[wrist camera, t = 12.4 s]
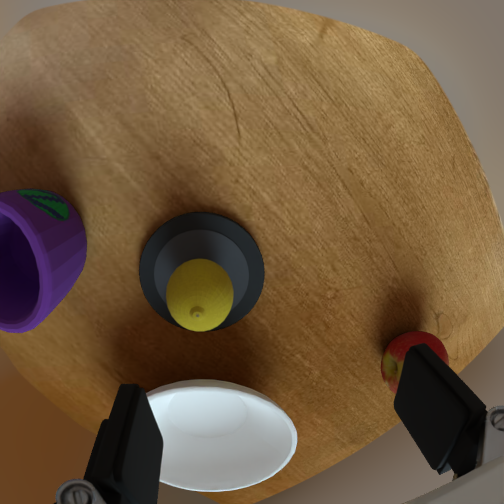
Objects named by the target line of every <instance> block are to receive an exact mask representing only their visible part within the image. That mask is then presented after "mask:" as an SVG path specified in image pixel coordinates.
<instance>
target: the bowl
mask: <svg viewBox="0 0 504 504" xmlns="http://www.w3.org/2000/svg"><path fill="white" fill-rule="evenodd" d="M146 395H147V398H148V401H149V404H150V406H151V409H152V412H153V414H154V417H155V419H156V422H157V424H158V427H159V429H160V432H161V434H162V437H163V443H164V445H163V454H162V462H161V471H160V480H159V481H161V482H163V483H166V484H169V485H172V486H175V487H179V488H183V489H187V490H195V491H208V492H218V491H229V490H235V489H240V488H244V487H248V486H251V485H254V484H257V483H259V482H261V481H263V480H265V479H267V478H269V477H271V476H273V475H274V474H275V473H277V472H278V471H280V470H281V469H282V468H283V467H284V466H285V465H286V464H287V463H288V462H289V461H290V459H291V457H292V455H293V454H294V452H295V449H296V445H297V431H296V429H295V427H294V425H293V422H292V420H291V419H290V417H289V416H288V415H287V414H286V413H285V412H284V410H283V409H282V408H281V407H280V406H279V405H278V404H276V403H275V402H274V401H272V400H271V399H270V398H268V397H267V396H266V395H264V394H262V393H259V392H257V391H255V390H253V389H251V388H248V387H245V386H242V385H238V384H235V383H232V382H226V381H220V380H213V379H194V380H185V381H179V382H175V383H171V384H168V385H164V386H160V387H158V388H156V389H154V390H151V391H149V392H147V393H146Z"/></svg>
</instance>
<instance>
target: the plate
mask: <svg viewBox="0 0 504 504" xmlns="http://www.w3.org/2000/svg"><path fill="white" fill-rule="evenodd" d="M193 259H207V260H210V261H213V262H215V263H217V264H218V265H220V266H221V267H222V268H223V269H224V270H225V271H226V272H227V274H228V276H229V278H230V280H231V282H232V286H233V291H234V293H233V303H232V306H231V309H230V312H229V314H228V315H227V317H226V318H225V320H224V321H223V322H222V323H221V324H219V325H218V326H217V327H215V328H213V329H211V330H207V331H215V330H219V329H223V328H225V327H228V326H230V325H232V324H234V323H236V322H237V321H239V320H240V319H242V318H243V317H244V316H245V315H246V314H248V312H249V311H250V310H251V309H252V308H253V307H254V305H255V304H256V302H257V300H258V298H259V296H260V294H261V291H262V288H263V283H264V263H263V259H262V255H261V253H260V250H259V248H258V246H257V244H256V243H255V241H254V239H253V238H252V237H251V235H250V234H249V233H248V232H247V231H246V230H245V229H244V228H243V227H242V226H240V225H239V224H238V223H237V222H235V221H233V220H231V219H230V218H227V217H225V216H222V215H219V214H215V213H209V212H192V213H186V214H183V215H179V216H177V217H175V218H172V219H171V220H169V221H167V222H166V223H164V224H163V225H162V226H161V227H159V228H158V229H157V230H156V231H155V232H154V234H153V235H152V236H151V237H150V239H149V240H148V242H147V244H146V245H145V247H144V250H143V252H142V255H141V260H140V267H139V275H140V282H141V287H142V290H143V292H144V295H145V297H146V299H147V300H148V302H149V304H150V305H151V306H152V308H153V309H154V310H155V311H156V312H157V313H158V314H159V315H160V316H161V317H162V318H164V319H165V320H167V321H168V322H170V323H172V324H173V325H175V326H178V327H180V328H183V329H187V328H184V327H183V326H181V325H180V324H179V323H177V322H176V320H175V319H174V318H173V317H172V315H171V313H170V311H169V309H168V306H167V300H166V290H167V284H168V282H169V279H170V277H171V275H172V274H173V272H174V271H175V270H176V269H177V268H178V267H179V266H180V265H182V264H183V263H185V262H187V261H189V260H193ZM187 330H189V329H187ZM191 331H193V330H191Z"/></svg>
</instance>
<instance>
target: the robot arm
mask: <svg viewBox="0 0 504 504" xmlns="http://www.w3.org/2000/svg"><path fill="white" fill-rule="evenodd" d="M394 409H395V411H396V413H397V414H398V416H399V417H400V419H401V420H402V422H403V424H404V425H405V427H406V428H407V430H408V431H409V433H410V434H411V436H412V438H413V439H414V441H415V442H416V444H417V446H418V447H419V449H420V450H421V452H422V454H423V455H424V457H425V458H426V460H427V462H428V463H429V465H430V466H431V468H432V469H434V470H437V472H438V473H439V475H441V474H443V473H445V472H447V471H449V470H451V468H452V470H453V471H454V476H453V480H452V482H450V483H448V484H446V485H443V486H441V487H439V488H437V489H435V490H433V491H431V492H429V493H427V494H424V495H422V496H420V497H417V498H415V499H413V500H410V501H408V502H405V503H403V504H504V406H496V407H493V408H491V409H490V410H489V411H488V412H487V411H486V405H485V404H484V403H483V402H482V401H481V400H480V399H479V398H478V397H477V396H476V395H475V394H474V392H473V391H472V390H471V389H470V388H469V387H468V386H467V385H466V384H465V383H464V382H463V381H462V380H461V379H460V378H459V377H458V376H457V374H456V373H455V372H454V371H453V370H452V369H451V368H450V367H449V366H448V365H447V364H446V363H445V362H444V361H443V360H442V359H441V358H440V357H439V356H438V355H437V354H436V353H435V352H434V351H433V350H432V349H431V348H430V347H429V346H428V345H427V344H426V343H421V344H417V345H414V346H411V347H410V348H409V351H407V352H406V354H405V359H404V363H403V368H402V372H401V376H400V380H399V384H398V388H397V392H396V396H395V399H394ZM163 445H164V443H163V437H162V434H161V432H160V429H159V427H158V424H157V422H156V419H155V417H154V414H153V412H152V409H151V406H150V404H149V401H148V398H147V395H146V392H145V390H144V388H139V385H138V384H121V385H120V387H119V390H118V393H117V396H116V399H115V401H114V404H113V407H112V410H111V413H110V416H109V419H104V420H103V421H102V423H101V426H100V428H99V431H98V434H97V437H96V441H95V443H94V447H93V450H92V453H91V456H90V459H89V462H88V466H87V469H86V472H85V475H84V479H83V480H82V479H72V480H68V481H66V482H65V483H63V484H62V485H61V486H60V487H59V488H58V490H57V493H56V503H54V504H157V499H158V489H159V480H160V471H161V462H162V454H163Z"/></svg>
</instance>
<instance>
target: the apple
mask: <svg viewBox="0 0 504 504" xmlns="http://www.w3.org/2000/svg"><path fill="white" fill-rule="evenodd" d="M421 343H426V344H427V345H428V346H429V347H430V348H431V349H432V350H433V351H434V352H435V353H436V354H437V355H438V356H439V357H440V358H441V359H442V360H443V361H444V362H445V363H446V364H447V365H448V366H449V359H448V354H447V351H446V349H445V347H444V345H443V343H442V342H441V341H440V340H439V339H438V338H437V337H436V336H434V335H433V334H430V333H427V332H422V331H411V332H407V333H404V334H402V335H399V336H398V337H396V338H394V339H393V340H392V341H391V342H390V343H389V344H388V346H387V348H386V350H385V351H384V354H383V357H382V361H381V373H382V377H383V380H384V382H385V383H386V384H387V386H388V387H389V388H390V390H391V391H392V392H394V393H395V394H396V392H397V388H398V384H399V380H400V376H401V372H402V368H403V363H404V359H405V354H406V352H407V351H409V348H410V347H411V346H414V345H417V344H421Z"/></svg>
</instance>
